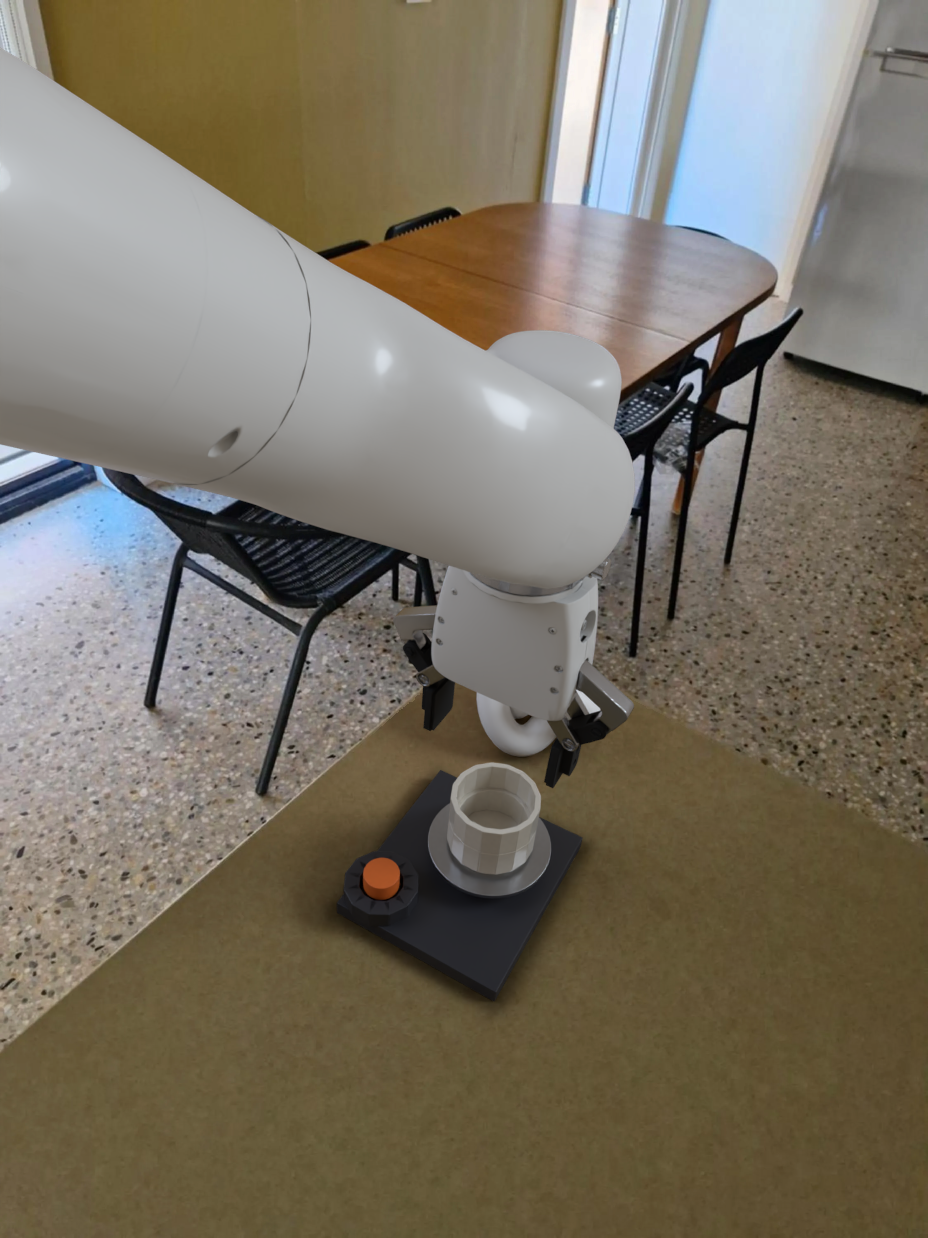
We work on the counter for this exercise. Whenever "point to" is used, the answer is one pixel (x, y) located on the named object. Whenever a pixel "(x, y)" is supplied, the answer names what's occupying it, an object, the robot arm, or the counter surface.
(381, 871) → the tare button
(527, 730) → the white knot sculpture
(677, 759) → the counter surface
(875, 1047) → the counter surface
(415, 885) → the scale
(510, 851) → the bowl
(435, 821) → the brushed metal disc
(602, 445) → the robot arm
